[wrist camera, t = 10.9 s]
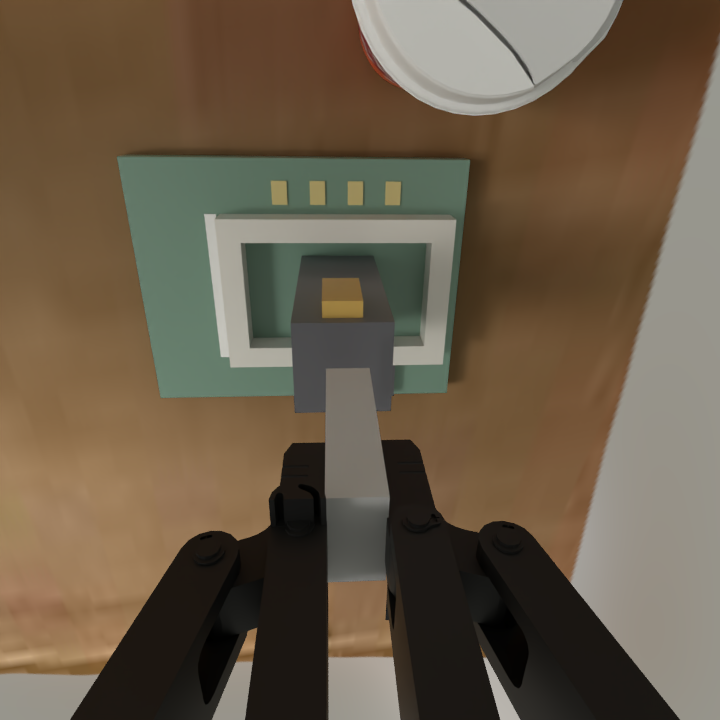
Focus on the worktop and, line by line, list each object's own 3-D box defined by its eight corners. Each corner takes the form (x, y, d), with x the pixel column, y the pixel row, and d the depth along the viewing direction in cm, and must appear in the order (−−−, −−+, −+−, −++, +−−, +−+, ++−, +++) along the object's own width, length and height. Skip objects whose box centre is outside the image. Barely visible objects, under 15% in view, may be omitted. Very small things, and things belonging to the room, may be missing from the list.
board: (166, 388, 33) (153, 410, 31) (125, 154, 27) (105, 159, 24) (442, 383, 34) (451, 404, 32) (464, 157, 28) (477, 162, 25)
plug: (304, 322, 30) (295, 412, 21) (301, 243, 28) (289, 306, 19) (371, 321, 30) (390, 410, 22) (373, 242, 28) (395, 305, 19)
